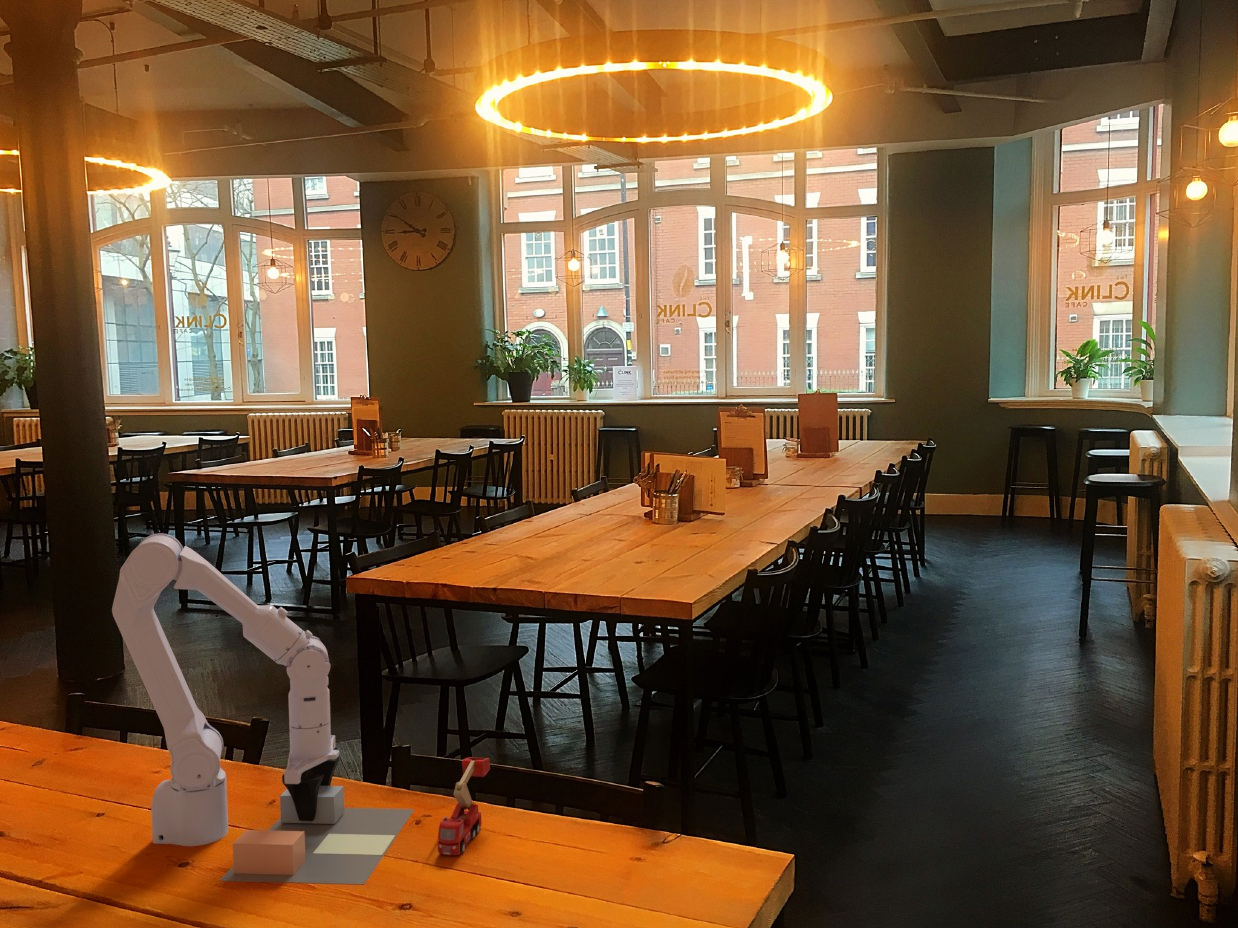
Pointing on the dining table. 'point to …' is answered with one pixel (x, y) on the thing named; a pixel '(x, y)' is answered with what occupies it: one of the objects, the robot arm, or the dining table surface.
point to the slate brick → (327, 806)
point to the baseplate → (339, 847)
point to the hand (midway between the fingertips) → (312, 813)
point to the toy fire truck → (462, 811)
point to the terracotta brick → (269, 852)
